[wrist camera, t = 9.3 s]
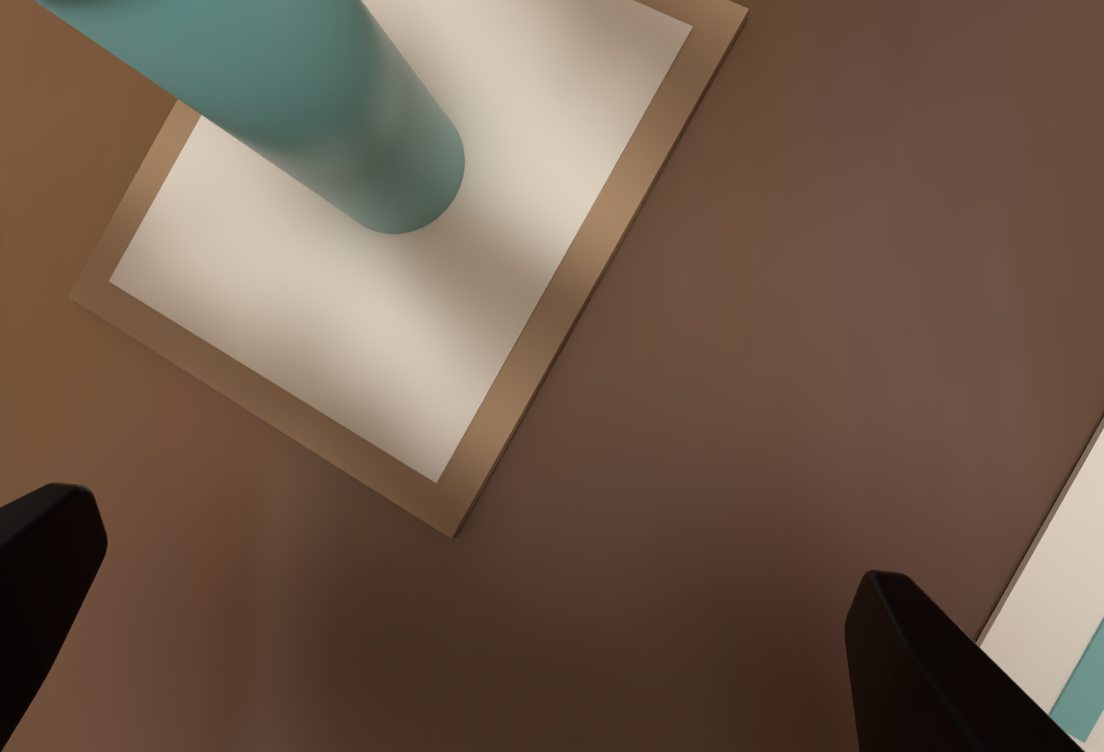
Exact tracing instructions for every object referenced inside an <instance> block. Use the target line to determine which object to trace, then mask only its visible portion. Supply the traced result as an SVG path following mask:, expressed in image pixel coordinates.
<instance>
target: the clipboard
mask: <svg viewBox="0 0 1104 752" xmlns="http://www.w3.org/2000/svg"><path fill="white" fill-rule="evenodd" d="M362 1H363V3H364V4H365V5H366V7H367V8H368V9H369V11H370V12H371V14H372V15H373V16H374V18H375V19H376V20H377V22H378V23H379V24H380V26H381V27H382V28H383V30H384V31H385V33H386V34H387V35H388V37H389V38H390V39H391V41H392V42H393V43H394V45H395V46H396V47H397V49H398V50H399V52H400V53H401V54H402V56H403V57H404V58H405V60H406V61H407V62H408V64H409V65H410V66H411V68H412V69H413V71H414V72H415V73H416V75H417V76H418V77H419V79H420V80H421V81H422V83H423V84H424V85H425V87H426V88H427V90H428V91H429V92H430V94H431V95H432V96H433V98H434V99H435V100H436V102H437V103H438V105H439V106H440V107H441V109H442V110H443V111H444V113H445V114H446V115H447V117H448V118H449V119H450V121H451V122H452V124H453V125H454V126H455V128H456V130H457V132H458V133H459V135H460V138H461V141H462V144H463V149H464V156H465V167H464V174H463V179H462V182H461V185H460V188H459V190H458V192H457V194H456V196H455V198H454V200H453V201H452V203H451V204H450V205H449V207H448V208H447V209H446V210H445V211H444V212H443V213H442V214H441V215H440V216H439V217H438V218H437V219H435V220H434V221H433V222H431V223H430V224H428V225H426V226H424V227H422V228H420V229H417V230H415V231H411V232H408V233H401V234H386V233H380V232H377V231H373V230H371V229H369V228H366V227H364V226H363V225H361V224H360V223H358V222H357V221H355V220H354V219H352V218H351V217H349V216H348V215H346V214H345V213H343V212H342V211H341V210H339V209H338V208H336V207H335V206H333V205H332V204H330V203H329V202H327V201H326V200H325V199H323V198H322V197H320V196H319V195H317V194H316V193H314V192H313V191H311V190H310V189H309V188H307V187H306V186H304V185H303V184H301V183H300V182H298V181H297V180H295V179H294V178H293V177H291V176H290V175H288V174H287V173H285V172H284V171H282V170H281V169H279V168H278V167H277V166H275V165H274V164H272V163H271V162H269V161H268V160H266V159H265V158H263V157H262V156H261V155H259V154H258V153H256V152H255V151H253V150H252V149H250V148H249V147H247V146H246V145H244V144H243V143H242V142H240V141H239V140H237V139H236V138H234V137H233V136H231V135H230V134H228V133H227V132H226V131H224V130H223V129H221V128H220V127H218V126H217V125H215V124H214V123H212V122H211V121H210V120H208V119H207V118H205V117H204V116H202V115H201V114H199V113H198V112H196V111H195V110H194V109H192V108H191V107H189V106H188V105H186V104H185V103H183V102H182V101H180V100H179V99H178V100H177V102H176V104H175V105H174V107H173V109H172V111H171V112H170V114H169V116H168V118H167V120H166V121H165V123H164V125H163V127H162V129H161V130H160V132H159V134H158V136H157V138H156V139H155V141H154V143H153V145H152V147H151V148H150V150H149V152H148V154H147V155H146V157H145V159H144V161H143V163H142V164H141V166H140V168H139V170H138V172H137V173H136V175H135V177H134V179H133V181H132V182H131V184H130V186H129V188H128V189H127V191H126V193H125V195H124V197H123V198H122V200H121V202H120V204H119V206H118V207H117V209H116V211H115V213H114V215H113V216H112V218H111V220H110V222H109V224H108V225H107V227H106V229H105V231H104V232H103V234H102V236H101V238H100V240H99V241H98V243H97V245H96V247H95V249H94V250H93V252H92V254H91V256H90V258H89V259H88V261H87V263H86V265H85V266H84V268H83V270H82V272H81V274H80V275H79V277H78V279H77V281H76V283H75V284H74V286H73V288H72V290H71V292H70V293H69V295H68V297H69V298H70V299H72V300H73V301H75V302H76V303H78V304H80V305H81V306H83V307H84V308H86V309H88V310H89V311H91V312H92V313H94V314H96V315H97V316H99V317H100V318H102V319H103V320H105V321H107V322H108V323H110V324H111V325H113V326H115V327H116V328H118V329H119V330H121V331H122V332H124V333H126V334H127V335H129V336H130V337H132V338H134V339H135V340H137V341H138V342H140V343H141V344H143V345H145V346H146V347H148V348H149V349H151V350H153V351H154V352H156V353H157V354H159V355H161V356H162V357H164V358H165V359H167V360H168V361H170V362H172V363H173V364H175V365H176V366H178V367H180V368H181V369H183V370H184V371H186V372H187V373H189V374H191V375H192V376H194V377H195V378H197V379H199V380H200V381H202V382H203V383H205V384H206V385H208V386H210V387H211V388H213V389H214V390H216V391H218V392H219V393H221V394H222V395H224V396H226V397H227V398H229V399H230V400H232V401H233V402H235V403H237V404H238V405H240V406H241V407H243V408H245V409H246V410H248V411H249V412H251V413H252V414H254V415H256V416H257V417H259V418H260V419H262V420H264V421H265V422H267V423H268V424H270V425H271V426H273V427H275V428H276V429H278V430H279V431H281V432H283V433H284V434H286V435H287V436H289V437H290V438H292V439H294V440H295V441H297V442H298V443H300V444H302V445H303V446H305V447H306V448H308V449H310V450H311V451H313V452H314V453H316V454H317V455H319V456H321V457H322V458H324V459H325V460H327V461H329V462H330V463H332V464H333V465H335V466H336V467H338V468H340V469H341V470H343V471H344V472H346V473H348V474H349V475H351V476H352V477H354V478H355V479H357V480H359V481H360V482H362V483H363V484H365V485H367V486H368V487H370V488H371V489H373V490H375V491H376V492H378V493H379V494H381V495H382V496H384V497H386V498H387V499H389V500H390V501H392V502H394V503H395V504H397V505H398V506H400V507H401V508H403V509H405V510H406V511H408V512H409V513H411V514H413V515H414V516H416V517H417V518H419V519H420V520H422V521H424V522H425V523H427V524H428V525H430V526H432V527H433V528H435V529H436V530H438V531H440V532H441V533H443V534H444V535H446V536H447V537H449V538H451V539H452V538H455V537H456V536H457V534H458V533H459V531H460V529H461V527H462V526H463V524H464V522H465V520H466V518H467V517H468V515H469V513H470V511H471V510H472V508H473V506H474V504H475V502H476V501H477V499H478V497H479V495H480V494H481V492H482V490H483V488H484V486H485V485H486V483H487V481H488V479H489V478H490V476H491V474H492V472H493V470H494V469H495V467H496V465H497V463H498V462H499V460H500V458H501V456H502V454H503V453H504V451H505V449H506V447H507V446H508V444H509V442H510V440H511V438H512V437H513V435H514V433H515V431H516V429H517V428H518V426H519V424H520V422H521V421H522V419H523V417H524V415H525V413H526V412H527V410H528V408H529V406H530V405H531V403H532V401H533V399H534V397H535V396H536V394H537V392H538V390H539V389H540V387H541V385H542V383H543V381H544V380H545V378H546V376H547V374H548V373H549V371H550V369H551V367H552V365H553V364H554V362H555V360H556V358H557V357H558V355H559V353H560V351H561V349H562V348H563V346H564V344H565V342H566V341H567V339H568V337H569V335H570V333H571V332H572V330H573V328H574V326H575V324H576V323H577V321H578V319H579V317H580V316H581V314H582V312H583V310H584V308H585V307H586V305H587V303H588V301H589V300H590V298H591V296H592V294H593V292H594V291H595V289H596V287H597V285H598V284H599V282H600V280H601V278H602V276H603V275H604V273H605V271H606V269H607V268H608V266H609V264H610V262H611V260H612V259H613V257H614V255H615V253H616V252H617V250H618V248H619V246H620V244H621V243H622V241H623V239H624V237H625V236H626V234H627V232H628V230H629V228H630V227H631V225H632V223H633V221H634V219H635V218H636V216H637V214H638V212H639V211H640V209H641V207H642V205H643V203H644V202H645V200H646V198H647V196H648V195H649V193H650V191H651V189H652V187H653V186H654V184H655V182H656V180H657V179H658V177H659V175H660V173H661V171H662V170H663V168H664V166H665V164H666V163H667V161H668V159H669V157H670V155H671V154H672V152H673V150H674V148H675V147H676V145H677V143H678V141H679V139H680V138H681V136H682V134H683V132H684V131H685V129H686V127H687V125H688V123H689V122H690V120H691V118H692V116H693V114H694V113H695V111H696V109H697V107H698V106H699V104H700V102H701V100H702V98H703V97H704V95H705V93H706V91H707V90H708V88H709V86H710V84H711V82H712V81H713V79H714V77H715V75H716V74H717V72H718V70H719V68H720V66H721V65H722V63H723V61H724V59H725V58H726V56H727V54H728V52H729V50H730V49H731V47H732V45H733V43H734V42H735V40H736V38H737V36H738V34H739V33H740V31H741V29H742V27H743V26H744V24H745V22H746V20H747V18H748V13H749V9H748V8H745V7H743V6H741V5H738V4H736V3H734V2H731V1H729V0H362Z"/></svg>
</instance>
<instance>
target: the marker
mask: <svg viewBox="0 0 1104 752" xmlns="http://www.w3.org/2000/svg"><path fill="white" fill-rule="evenodd" d="M35 1H36V2H38V3H39V4H41V5H42V6H44V7H45V8H47V9H48V10H49V11H51V12H52V13H54V14H55V15H57V16H58V17H60V18H61V19H63V20H64V21H65V22H67V23H68V24H70V25H71V26H73V27H74V28H76V29H77V30H79V31H80V32H81V33H83V34H84V35H86V36H87V37H89V38H90V39H92V40H93V41H95V42H96V43H97V44H99V45H100V46H102V47H103V48H105V49H106V50H108V51H109V52H111V53H112V54H113V55H115V56H116V57H118V58H119V59H121V60H122V61H124V62H125V63H127V64H128V65H129V66H131V67H132V68H134V69H135V70H137V71H138V72H140V73H141V74H143V75H144V76H146V77H147V78H148V79H150V80H151V81H153V82H154V83H156V84H157V85H159V86H160V87H162V88H163V89H164V90H166V91H167V92H169V93H170V94H172V95H173V96H175V97H176V98H178V99H179V100H180V101H182V102H183V103H185V104H186V105H188V106H189V107H191V108H192V109H194V110H195V111H196V112H198V113H199V114H201V115H202V116H204V117H205V118H207V119H208V120H210V121H211V122H212V123H214V124H215V125H217V126H218V127H220V128H221V129H223V130H224V131H226V132H227V133H228V134H230V135H231V136H233V137H234V138H236V139H237V140H239V141H240V142H242V143H243V144H244V145H246V146H247V147H249V148H250V149H252V150H253V151H255V152H256V153H258V154H259V155H261V156H262V157H263V158H265V159H266V160H268V161H269V162H271V163H272V164H274V165H275V166H277V167H278V168H279V169H281V170H282V171H284V172H285V173H287V174H288V175H290V176H291V177H293V178H294V179H295V180H297V181H298V182H300V183H301V184H303V185H304V186H306V187H307V188H309V189H310V190H311V191H313V192H314V193H316V194H317V195H319V196H320V197H322V198H323V199H325V200H326V201H327V202H329V203H330V204H332V205H333V206H335V207H336V208H338V209H339V210H341V211H342V212H343V213H345V214H346V215H348V216H349V217H351V218H352V219H354V220H355V221H357V222H358V223H360V224H361V225H363V226H364V227H366V228H369V229H371V230H373V231H377V232H380V233H386V234H401V233H408V232H411V231H415V230H417V229H420V228H422V227H424V226H426V225H428V224H430V223H431V222H433V221H434V220H435V219H437V218H438V217H439V216H440V215H441V214H442V213H443V212H444V211H445V210H446V209H447V208H448V207H449V205H450V204H451V203H452V201H453V200H454V198H455V196H456V194H457V192H458V190H459V188H460V185H461V182H462V179H463V174H464V167H465V156H464V149H463V144H462V141H461V138H460V135H459V133H458V132H457V130H456V128H455V126H454V125H453V124H452V122H451V121H450V119H449V118H448V117H447V115H446V114H445V113H444V111H443V110H442V109H441V107H440V106H439V105H438V103H437V102H436V100H435V99H434V98H433V96H432V95H431V94H430V92H429V91H428V90H427V88H426V87H425V85H424V84H423V83H422V81H421V80H420V79H419V77H418V76H417V75H416V73H415V72H414V71H413V69H412V68H411V66H410V65H409V64H408V62H407V61H406V60H405V58H404V57H403V56H402V54H401V53H400V52H399V50H398V49H397V47H396V46H395V45H394V43H393V42H392V41H391V39H390V38H389V37H388V35H387V34H386V33H385V31H384V30H383V28H382V27H381V26H380V24H379V23H378V22H377V20H376V19H375V18H374V16H373V15H372V14H371V12H370V11H369V9H368V8H367V7H366V5H365V4H364V3H363V1H362V0H35Z"/></svg>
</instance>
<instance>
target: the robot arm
mask: <svg viewBox="0 0 1104 752" xmlns="http://www.w3.org/2000/svg"><path fill="white" fill-rule="evenodd" d="M107 544H108V542H107V534H106V530H105V527H104V524H103V521H102V518H101V515H100V512H99V509H98V506H97V503H96V500H95V497H94V494H93V492H92V491H91V490H90V489H89V488H88V487H85V486H83V485H75V484H65V483H50V484H47V485H45V486H42V487H40V488H38V489H36V490H34V491H32V492H30V493H28V494H26V495H24V496H22V497H20V498H18V499H16V500H14V501H12V502H10V503H8V504H6V505H4V506H2V507H0V752H1V751H2V750H3V748H4V746H5V745H6V743H7V742H8V740H9V738H10V737H11V735H12V733H13V732H14V730H15V728H16V727H17V725H18V723H19V722H20V720H21V719H22V717H23V715H24V714H25V712H26V710H27V709H28V707H29V705H30V704H31V702H32V701H33V699H34V697H35V696H36V694H37V692H38V690H39V689H40V687H41V685H42V683H43V682H44V680H45V678H46V677H47V675H48V673H49V671H50V669H51V667H52V665H53V663H54V661H55V659H56V658H57V656H58V654H59V652H60V649H61V647H62V645H63V643H64V641H65V639H66V637H67V635H68V633H69V631H70V629H71V626H72V624H73V622H74V620H75V618H76V616H77V614H78V612H79V610H80V608H81V605H82V603H83V601H84V599H85V597H86V595H87V593H88V591H89V589H90V587H91V585H92V582H93V580H94V578H95V576H96V574H97V572H98V570H99V568H100V566H101V564H102V562H103V559H104V557H105V554H106V550H107ZM845 644H846V651H847V659H848V667H849V675H850V683H851V690H852V698H853V706H854V714H855V722H856V730H857V737H858V745H859V752H1085V751H1084V750H1083V749H1082V748H1081V747H1080V746H1079V745H1078V744H1077V743H1076V742H1075V741H1074V740H1073V739H1072V738H1071V737H1070V736H1069V735H1068V734H1067V733H1066V732H1065V731H1064V730H1063V729H1062V728H1061V727H1060V726H1059V725H1058V724H1057V723H1056V722H1055V721H1054V720H1053V719H1052V718H1051V717H1050V716H1049V715H1048V714H1047V713H1046V712H1045V711H1044V710H1043V709H1042V708H1041V707H1040V706H1039V705H1038V704H1037V703H1036V702H1035V701H1034V700H1033V699H1032V698H1031V697H1030V696H1029V695H1028V694H1026V693H1025V692H1024V691H1023V690H1022V689H1021V688H1020V687H1019V686H1018V685H1017V684H1016V683H1015V682H1014V681H1013V680H1012V679H1011V678H1010V677H1009V676H1008V675H1007V674H1006V673H1005V672H1004V671H1003V670H1002V669H1001V668H1000V667H999V666H998V665H997V664H996V663H995V662H994V661H993V660H992V659H991V658H990V657H989V656H988V655H987V654H986V653H985V652H984V651H983V650H982V649H981V648H980V647H979V646H978V645H977V644H976V643H975V642H974V641H973V640H972V639H971V638H970V637H969V636H968V635H967V634H966V633H965V632H964V631H963V630H962V629H961V628H960V627H959V626H958V625H957V624H956V623H955V622H954V621H953V620H952V619H951V618H950V617H949V616H948V615H947V614H946V613H945V612H944V611H943V610H942V609H941V608H940V607H939V606H938V605H937V604H936V603H935V602H934V601H933V600H932V599H931V598H930V597H929V596H928V595H927V594H926V593H925V592H924V591H923V590H922V589H921V588H920V587H919V586H918V585H917V584H916V583H915V582H914V581H913V580H912V579H910V578H909V577H908V576H906V575H905V574H902V573H898V572H889V571H880V570H870V571H868V572H866V573H865V574H864V576H863V578H862V579H861V582H860V584H859V587H858V590H857V592H856V595H855V597H854V600H853V602H852V605H851V607H850V610H849V612H848V615H847V618H846V622H845Z"/></svg>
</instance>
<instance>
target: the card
mask: <svg viewBox="0 0 1104 752" xmlns="http://www.w3.org/2000/svg"><path fill="white" fill-rule="evenodd" d="M976 644H977V645H978V646H979V647H980V648H981V649H982V650H983V651H984V652H985V653H986V654H987V655H988V656H989V657H990V658H991V659H992V660H993V661H994V662H995V663H996V664H997V665H998V666H999V667H1000V668H1001V669H1002V670H1003V671H1004V672H1005V673H1006V674H1007V675H1008V676H1009V677H1010V678H1011V679H1012V680H1013V681H1014V682H1015V683H1016V684H1017V685H1018V686H1019V687H1020V688H1021V689H1022V690H1023V691H1024V692H1025V693H1026V694H1028V695H1029V696H1030V697H1031V698H1032V699H1033V700H1034V701H1035V702H1036V703H1037V704H1038V705H1039V706H1040V707H1041V708H1042V709H1043V710H1044V711H1045V712H1046V713H1047V714H1048V715H1049V716H1050V717H1051V718H1052V719H1053V720H1054V721H1055V722H1056V723H1057V724H1058V725H1059V726H1060V727H1061V728H1062V729H1063V730H1064V731H1065V732H1066V733H1067V734H1068V735H1069V736H1070V737H1071V738H1072V739H1073V740H1074V741H1075V742H1076V743H1077V744H1078V745H1079V746H1080V747H1081V748H1082V749H1083V750H1084V751H1085V752H1104V417H1103V419H1102V421H1101V422H1100V424H1099V426H1098V428H1097V430H1096V431H1095V433H1094V435H1093V437H1092V438H1091V440H1090V442H1089V444H1088V445H1087V447H1086V449H1085V451H1084V453H1083V454H1082V456H1081V458H1080V460H1079V461H1078V463H1077V465H1076V467H1075V468H1074V470H1073V472H1072V474H1071V475H1070V477H1069V479H1068V481H1067V483H1066V484H1065V486H1064V488H1063V490H1062V491H1061V493H1060V495H1059V497H1058V498H1057V500H1056V502H1055V504H1054V506H1053V507H1052V509H1051V511H1050V513H1049V514H1048V516H1047V518H1046V520H1045V521H1044V523H1043V525H1042V527H1041V529H1040V530H1039V532H1038V534H1037V536H1036V537H1035V539H1034V541H1033V543H1032V544H1031V546H1030V548H1029V550H1028V551H1027V553H1026V555H1025V557H1024V559H1023V560H1022V562H1021V564H1020V566H1019V567H1018V569H1017V571H1016V573H1015V574H1014V576H1013V578H1012V580H1011V582H1010V583H1009V585H1008V587H1007V589H1006V590H1005V592H1004V594H1003V596H1002V597H1001V599H1000V601H999V603H998V605H997V606H996V608H995V610H994V612H993V613H992V615H991V617H990V619H989V620H988V622H987V624H986V626H985V627H984V629H983V631H982V633H981V635H980V636H979V638H978V640H977V642H976Z"/></svg>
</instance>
